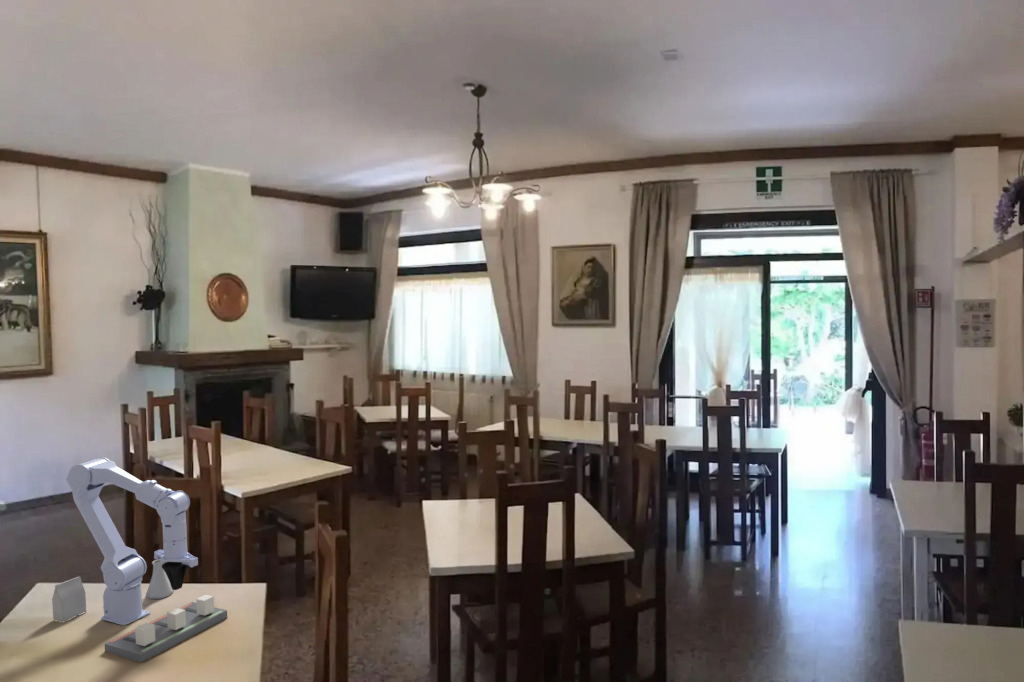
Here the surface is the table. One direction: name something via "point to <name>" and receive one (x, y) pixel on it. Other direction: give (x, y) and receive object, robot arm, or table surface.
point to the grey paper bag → (68, 599)
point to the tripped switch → (145, 634)
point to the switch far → (205, 604)
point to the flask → (159, 582)
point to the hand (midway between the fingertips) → (177, 588)
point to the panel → (164, 634)
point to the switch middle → (176, 618)
